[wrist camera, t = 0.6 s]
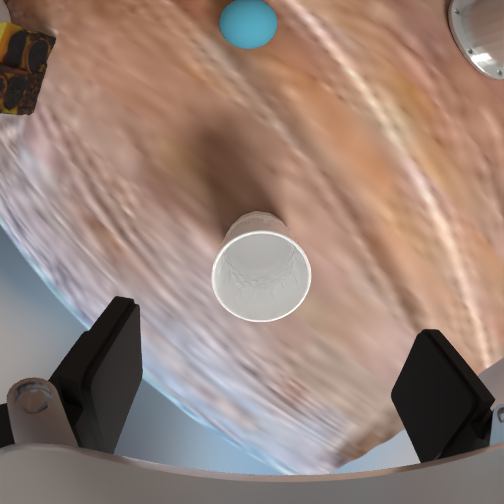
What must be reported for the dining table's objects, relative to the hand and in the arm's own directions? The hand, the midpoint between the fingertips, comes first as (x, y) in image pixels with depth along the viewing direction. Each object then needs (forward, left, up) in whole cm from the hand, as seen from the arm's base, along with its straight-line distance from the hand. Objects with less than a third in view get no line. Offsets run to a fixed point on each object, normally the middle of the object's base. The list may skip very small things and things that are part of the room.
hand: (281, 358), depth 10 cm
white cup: (+3, +3, -25) cm, 26 cm away
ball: (-12, -14, -22) cm, 29 cm away
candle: (+9, -34, -25) cm, 44 cm away
